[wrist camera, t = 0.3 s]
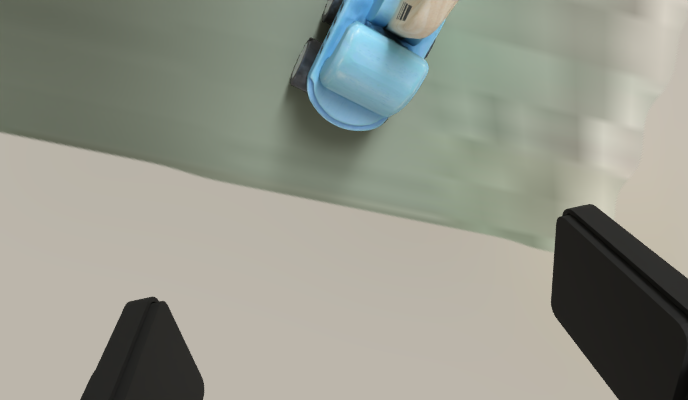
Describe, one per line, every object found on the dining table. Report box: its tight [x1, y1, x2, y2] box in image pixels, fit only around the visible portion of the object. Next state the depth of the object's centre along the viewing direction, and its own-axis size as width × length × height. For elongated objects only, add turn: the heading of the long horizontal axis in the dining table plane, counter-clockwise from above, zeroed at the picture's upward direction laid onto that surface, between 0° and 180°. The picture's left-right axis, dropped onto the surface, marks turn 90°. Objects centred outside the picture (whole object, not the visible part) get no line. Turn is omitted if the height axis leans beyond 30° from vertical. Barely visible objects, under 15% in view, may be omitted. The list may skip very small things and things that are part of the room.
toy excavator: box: [290, 0, 459, 131], centre depth 29 cm, size 9×17×17 cm, turn 152°
